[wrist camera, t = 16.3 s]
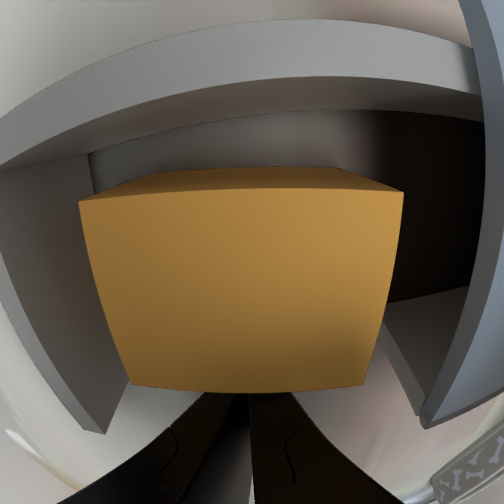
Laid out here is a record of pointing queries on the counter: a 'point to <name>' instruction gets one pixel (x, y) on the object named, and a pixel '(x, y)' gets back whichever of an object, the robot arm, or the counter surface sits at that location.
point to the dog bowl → (471, 468)
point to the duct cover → (480, 245)
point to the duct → (184, 114)
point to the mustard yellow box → (244, 276)
